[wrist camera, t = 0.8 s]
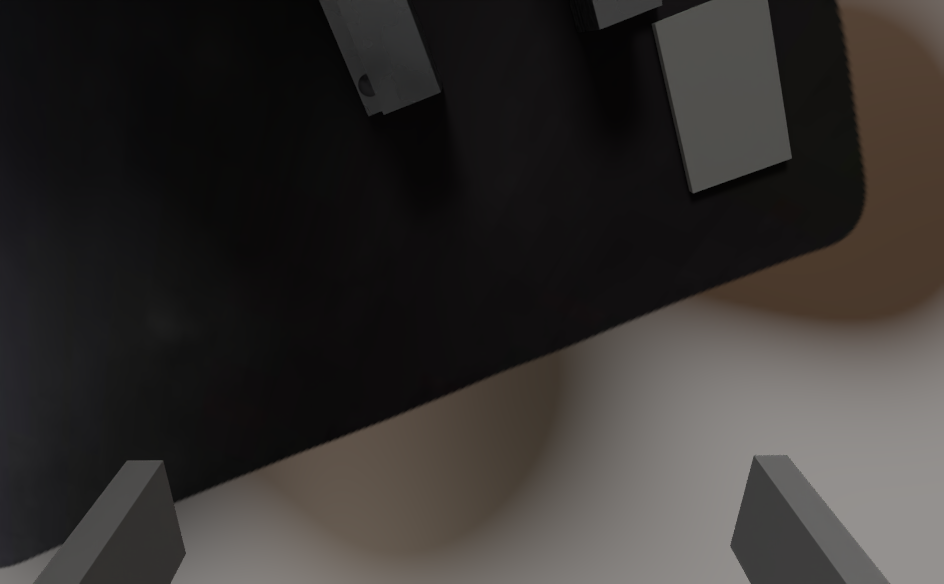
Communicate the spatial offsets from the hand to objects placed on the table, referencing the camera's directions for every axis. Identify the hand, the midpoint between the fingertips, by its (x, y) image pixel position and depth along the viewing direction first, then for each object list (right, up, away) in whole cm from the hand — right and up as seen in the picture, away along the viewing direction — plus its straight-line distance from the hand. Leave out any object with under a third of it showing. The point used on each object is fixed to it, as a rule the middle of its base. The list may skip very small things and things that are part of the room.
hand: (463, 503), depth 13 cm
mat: (+15, +16, +20) cm, 30 cm away
